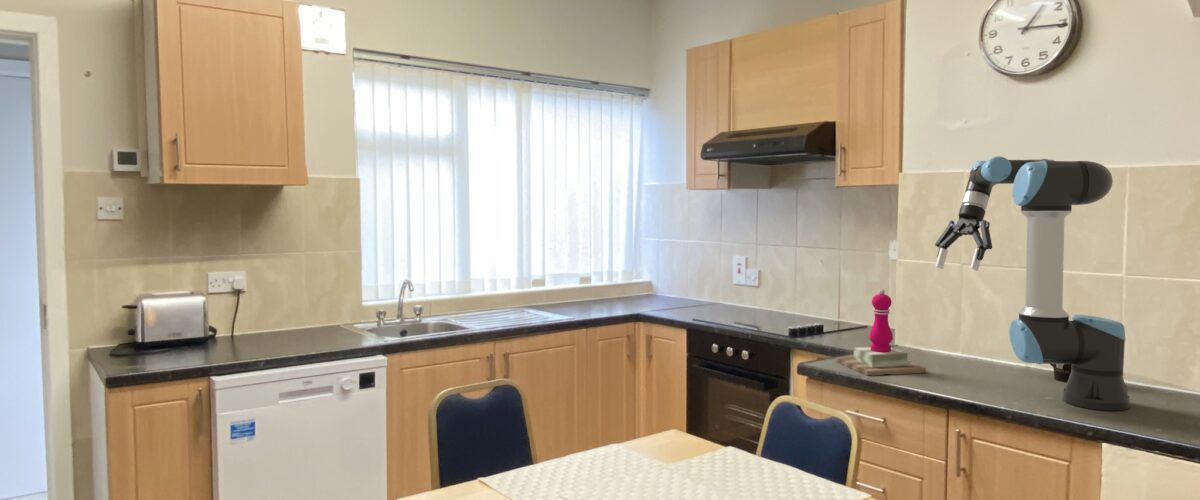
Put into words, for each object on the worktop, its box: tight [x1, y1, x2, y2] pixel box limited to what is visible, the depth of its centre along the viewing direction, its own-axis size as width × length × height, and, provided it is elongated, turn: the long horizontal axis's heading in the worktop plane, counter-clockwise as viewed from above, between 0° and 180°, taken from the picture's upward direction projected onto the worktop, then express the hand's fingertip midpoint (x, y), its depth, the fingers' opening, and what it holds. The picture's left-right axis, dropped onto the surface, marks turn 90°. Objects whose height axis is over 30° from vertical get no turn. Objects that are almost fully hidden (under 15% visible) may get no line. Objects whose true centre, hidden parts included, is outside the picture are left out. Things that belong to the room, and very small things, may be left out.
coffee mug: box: [1049, 364, 1072, 383], centre depth 230 cm, size 12×9×10 cm
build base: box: [836, 346, 927, 377], centre depth 247 cm, size 20×20×6 cm
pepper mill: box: [868, 289, 894, 352], centre depth 246 cm, size 7×7×20 cm
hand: (956, 268), depth 246 cm, fingers open, 13 cm apart
